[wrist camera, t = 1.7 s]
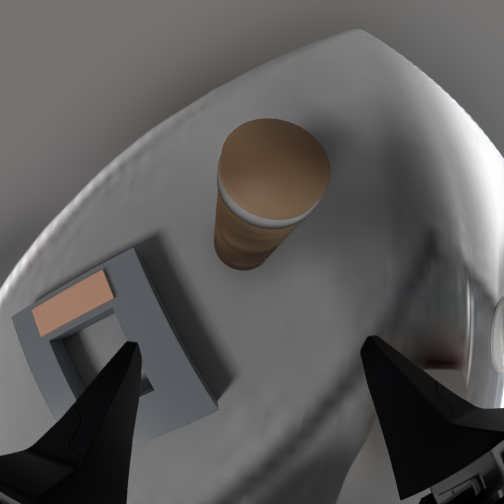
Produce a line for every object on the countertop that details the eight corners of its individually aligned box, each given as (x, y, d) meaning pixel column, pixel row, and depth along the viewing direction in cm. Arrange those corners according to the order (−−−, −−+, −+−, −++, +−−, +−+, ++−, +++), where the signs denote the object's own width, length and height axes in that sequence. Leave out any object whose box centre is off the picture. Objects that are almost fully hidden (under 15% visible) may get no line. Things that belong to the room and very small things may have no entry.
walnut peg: (282, 254, 25) (352, 188, 12) (230, 282, 23) (255, 234, 11) (254, 205, 25) (293, 107, 13) (202, 229, 24) (199, 136, 12)
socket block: (217, 401, 21) (218, 411, 18) (91, 450, 17) (80, 461, 14) (140, 254, 23) (132, 246, 20) (26, 318, 19) (9, 316, 16)
